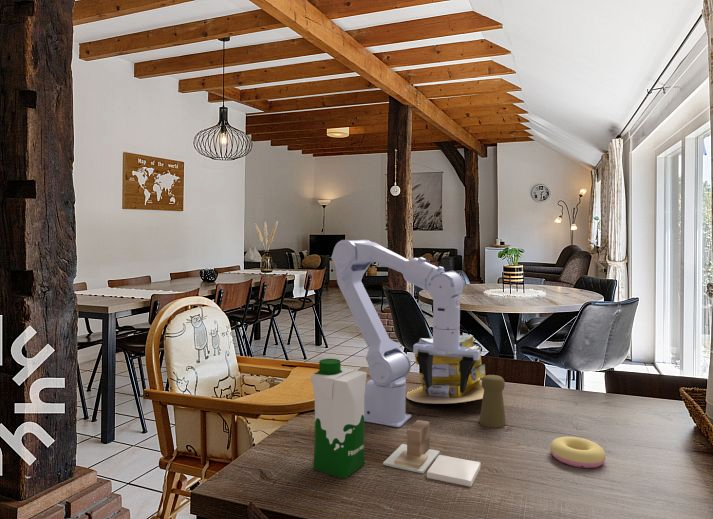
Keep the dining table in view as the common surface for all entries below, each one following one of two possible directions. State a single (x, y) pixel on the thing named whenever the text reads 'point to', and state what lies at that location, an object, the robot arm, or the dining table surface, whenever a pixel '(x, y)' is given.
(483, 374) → the stacked yellow boxes plate
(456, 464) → the tile
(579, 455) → the donut
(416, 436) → the tan blocky piece
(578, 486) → the dining table surface
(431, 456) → the plate
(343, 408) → the milk carton
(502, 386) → the cork
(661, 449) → the dining table surface
